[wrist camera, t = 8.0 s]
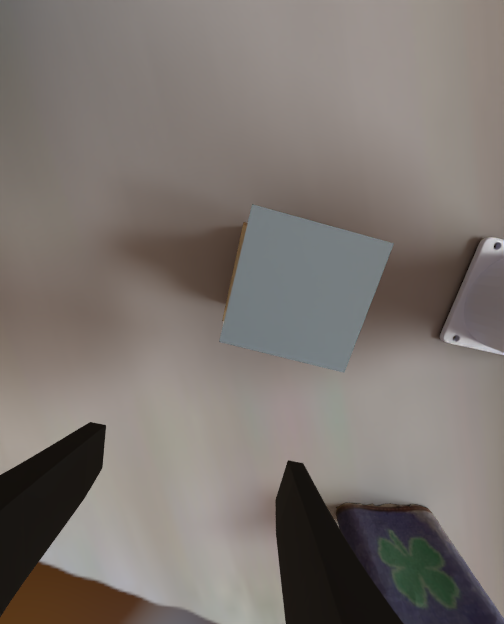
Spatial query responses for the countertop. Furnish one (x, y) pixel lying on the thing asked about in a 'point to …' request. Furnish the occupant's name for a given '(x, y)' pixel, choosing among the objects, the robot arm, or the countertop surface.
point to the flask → (415, 565)
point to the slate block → (302, 288)
